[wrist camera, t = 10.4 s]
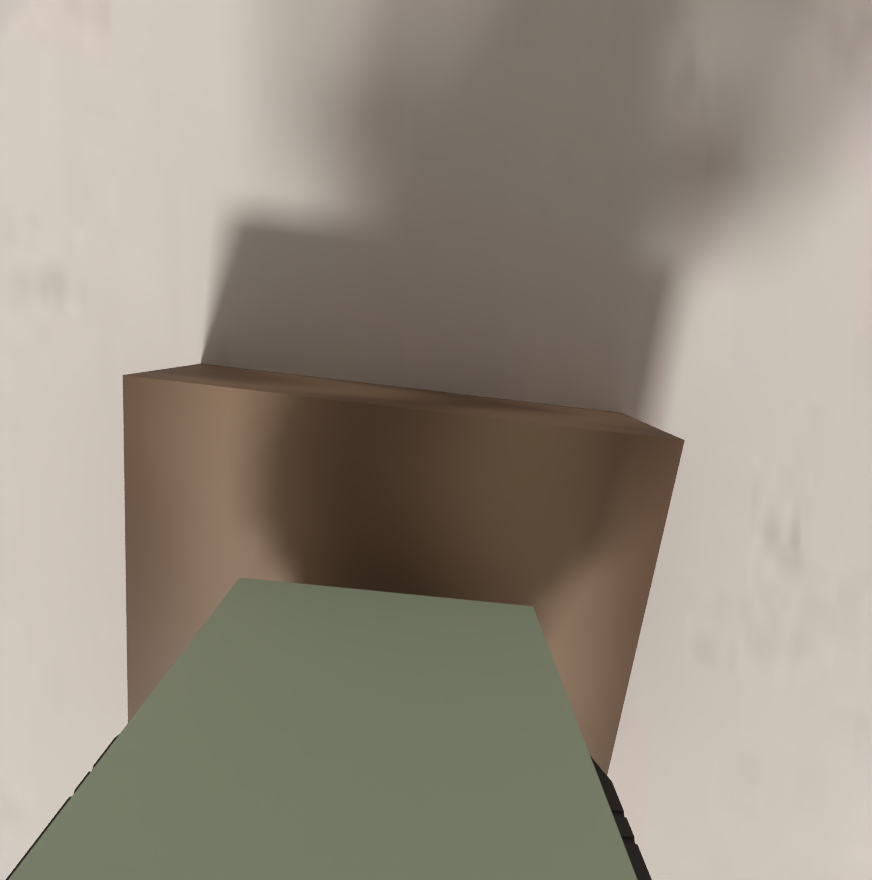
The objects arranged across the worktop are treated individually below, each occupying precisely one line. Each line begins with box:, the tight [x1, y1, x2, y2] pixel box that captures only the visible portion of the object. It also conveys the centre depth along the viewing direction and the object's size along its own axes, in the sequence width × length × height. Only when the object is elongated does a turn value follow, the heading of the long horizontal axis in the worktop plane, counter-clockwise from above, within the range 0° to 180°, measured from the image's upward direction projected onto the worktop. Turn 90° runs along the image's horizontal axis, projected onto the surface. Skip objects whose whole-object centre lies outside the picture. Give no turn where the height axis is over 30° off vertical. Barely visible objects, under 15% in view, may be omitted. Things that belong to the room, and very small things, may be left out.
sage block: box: [9, 578, 637, 880], centre depth 7 cm, size 6×6×6 cm
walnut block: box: [123, 364, 684, 775], centre depth 14 cm, size 12×12×4 cm
